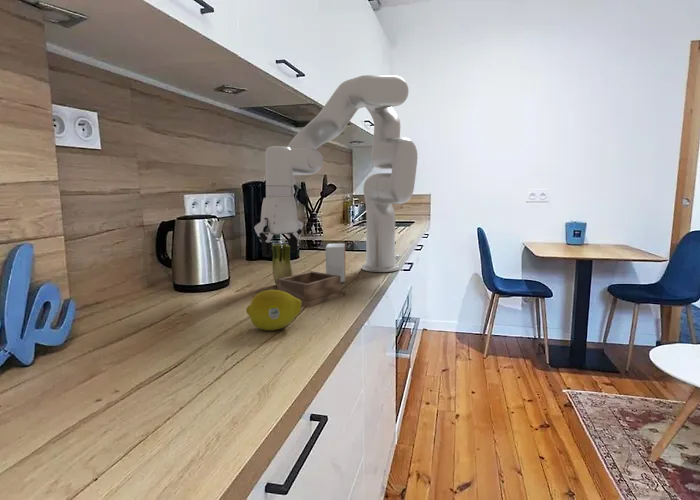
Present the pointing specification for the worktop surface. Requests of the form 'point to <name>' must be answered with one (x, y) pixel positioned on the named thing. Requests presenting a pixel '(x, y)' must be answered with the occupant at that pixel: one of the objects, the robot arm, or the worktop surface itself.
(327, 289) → the open wooden box
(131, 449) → the worktop surface
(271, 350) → the worktop surface
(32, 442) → the worktop surface
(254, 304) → the lemon
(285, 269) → the fennel bulb
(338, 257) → the small box
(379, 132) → the robot arm
